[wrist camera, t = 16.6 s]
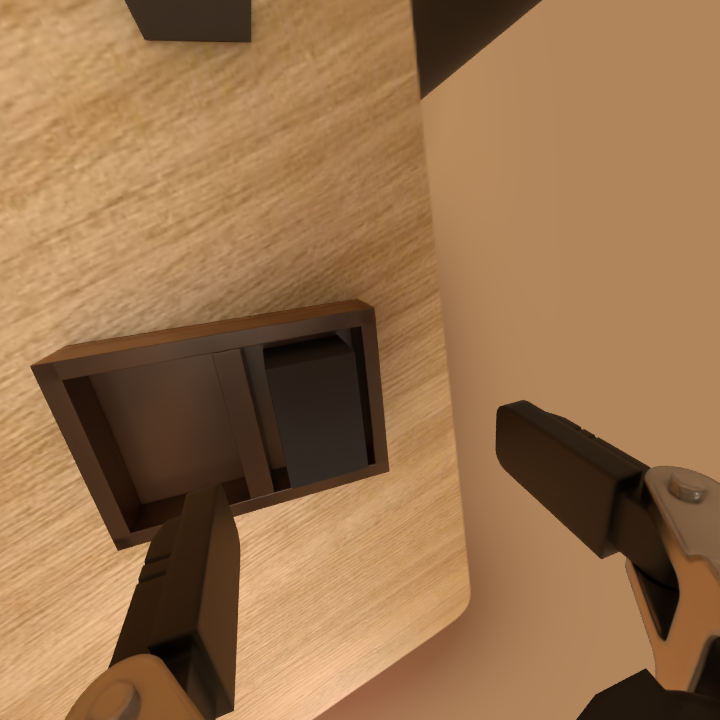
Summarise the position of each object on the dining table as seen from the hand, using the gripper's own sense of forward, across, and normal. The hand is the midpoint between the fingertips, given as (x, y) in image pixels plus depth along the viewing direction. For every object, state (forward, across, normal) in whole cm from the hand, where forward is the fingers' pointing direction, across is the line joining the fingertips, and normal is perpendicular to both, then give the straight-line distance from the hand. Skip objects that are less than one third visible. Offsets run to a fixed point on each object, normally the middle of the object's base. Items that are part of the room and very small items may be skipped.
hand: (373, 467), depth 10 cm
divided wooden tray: (+15, +5, +4) cm, 16 cm away
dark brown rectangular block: (+14, 0, +4) cm, 15 cm away
